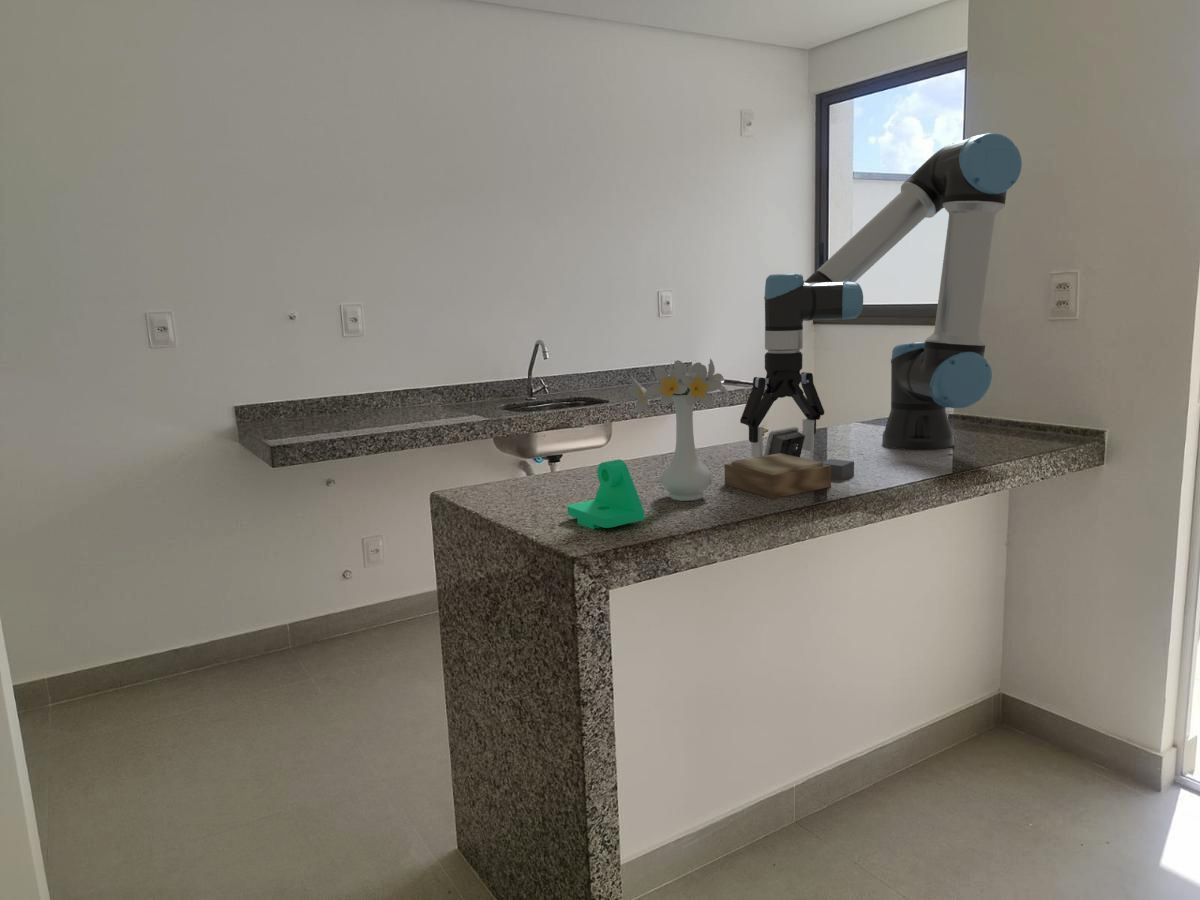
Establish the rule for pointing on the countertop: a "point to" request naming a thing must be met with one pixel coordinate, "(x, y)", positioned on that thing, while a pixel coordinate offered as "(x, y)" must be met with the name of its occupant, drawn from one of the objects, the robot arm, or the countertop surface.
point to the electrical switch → (785, 442)
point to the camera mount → (610, 499)
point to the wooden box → (777, 475)
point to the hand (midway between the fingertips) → (782, 454)
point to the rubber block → (840, 468)
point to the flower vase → (683, 423)
